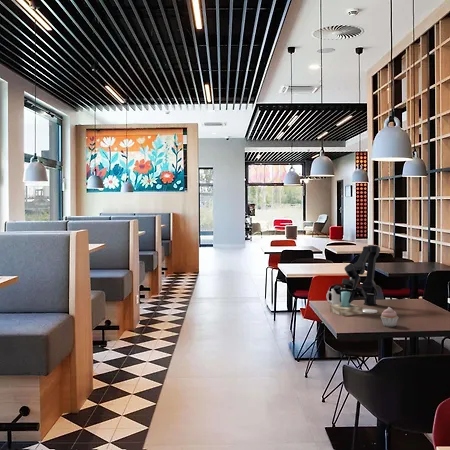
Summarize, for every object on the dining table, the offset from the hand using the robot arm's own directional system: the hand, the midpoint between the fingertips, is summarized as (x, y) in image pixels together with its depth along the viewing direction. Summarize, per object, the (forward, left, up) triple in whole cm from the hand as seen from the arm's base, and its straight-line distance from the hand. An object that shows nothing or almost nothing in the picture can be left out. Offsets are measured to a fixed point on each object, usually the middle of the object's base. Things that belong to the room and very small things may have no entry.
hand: (344, 302), depth 294 cm
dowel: (-1, -1, -7) cm, 7 cm away
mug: (-3, -18, -7) cm, 19 cm away
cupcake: (-3, +38, -7) cm, 39 cm away
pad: (-15, +2, -7) cm, 17 cm away
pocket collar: (-1, -1, -7) cm, 7 cm away
